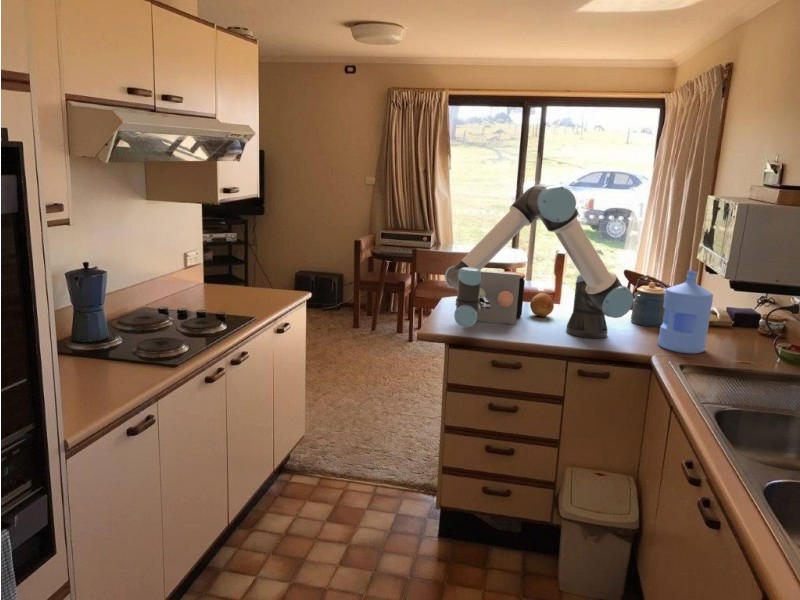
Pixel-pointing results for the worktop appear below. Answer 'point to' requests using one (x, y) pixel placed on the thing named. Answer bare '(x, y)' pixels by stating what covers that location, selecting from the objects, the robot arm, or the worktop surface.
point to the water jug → (686, 317)
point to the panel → (493, 287)
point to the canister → (648, 306)
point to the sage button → (482, 292)
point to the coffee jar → (520, 293)
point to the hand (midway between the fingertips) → (477, 295)
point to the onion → (541, 305)
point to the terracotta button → (505, 298)
